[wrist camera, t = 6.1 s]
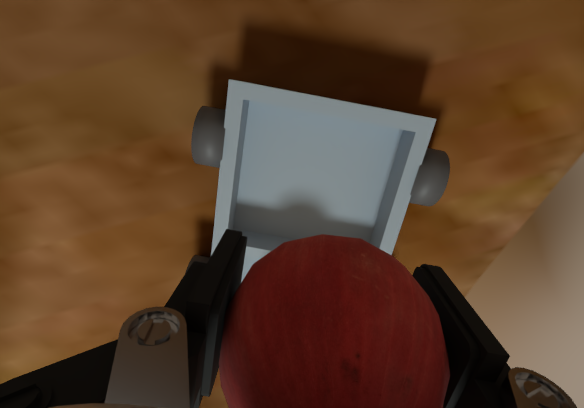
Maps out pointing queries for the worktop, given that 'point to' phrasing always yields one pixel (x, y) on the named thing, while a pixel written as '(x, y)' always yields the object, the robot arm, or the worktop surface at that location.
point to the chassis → (314, 167)
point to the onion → (332, 331)
